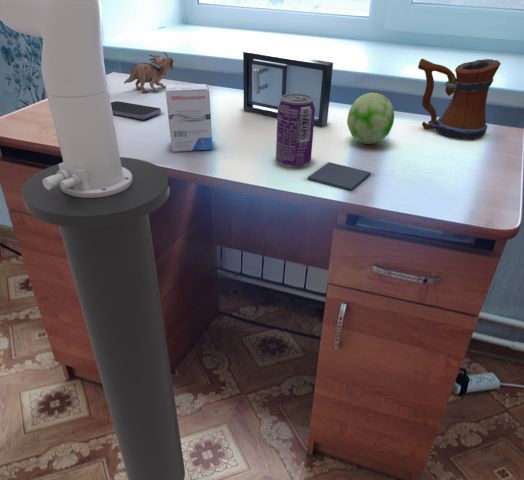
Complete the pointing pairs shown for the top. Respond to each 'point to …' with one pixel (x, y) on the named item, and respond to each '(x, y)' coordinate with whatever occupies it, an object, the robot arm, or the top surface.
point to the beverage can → (295, 129)
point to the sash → (266, 83)
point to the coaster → (339, 176)
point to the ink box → (189, 117)
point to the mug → (461, 98)
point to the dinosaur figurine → (151, 72)
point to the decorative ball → (370, 118)
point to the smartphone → (133, 110)
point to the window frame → (295, 82)
